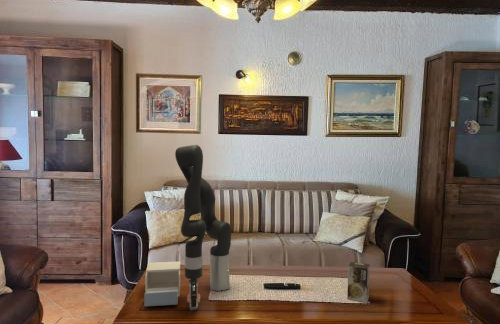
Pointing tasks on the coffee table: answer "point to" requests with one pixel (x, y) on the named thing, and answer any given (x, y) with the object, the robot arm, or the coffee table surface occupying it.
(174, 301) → the tray
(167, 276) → the beige shelf
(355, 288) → the coffee box
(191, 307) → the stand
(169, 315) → the coffee table surface
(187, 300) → the tan dome knob
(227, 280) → the robot arm
